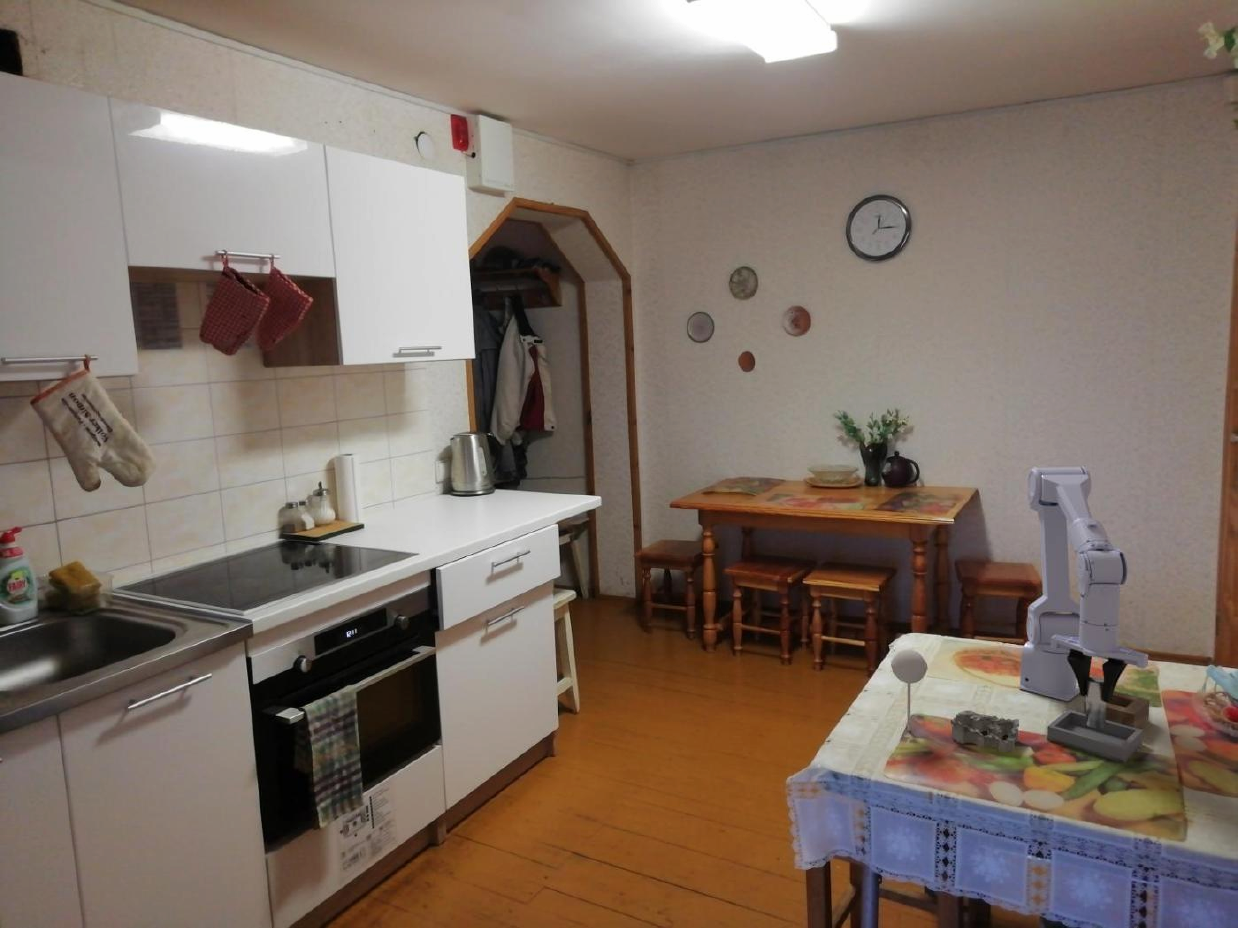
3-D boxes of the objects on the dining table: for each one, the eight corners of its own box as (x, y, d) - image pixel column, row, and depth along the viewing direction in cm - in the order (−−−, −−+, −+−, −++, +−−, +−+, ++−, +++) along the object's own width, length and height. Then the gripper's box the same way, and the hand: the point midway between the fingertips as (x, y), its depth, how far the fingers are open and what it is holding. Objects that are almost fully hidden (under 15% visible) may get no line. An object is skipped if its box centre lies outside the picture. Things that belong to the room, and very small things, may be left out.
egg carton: (947, 742, 149) (946, 720, 149) (958, 725, 156) (958, 703, 155) (1012, 756, 143) (1013, 733, 143) (1021, 738, 149) (1022, 716, 149)
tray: (1046, 739, 148) (1047, 726, 148) (1067, 722, 154) (1068, 709, 154) (1123, 763, 139) (1124, 748, 139) (1142, 743, 145) (1142, 730, 145)
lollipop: (928, 725, 155) (929, 646, 153) (925, 740, 150) (926, 658, 148) (892, 720, 158) (893, 642, 155) (888, 734, 152) (888, 654, 150)
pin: (1082, 724, 146) (1083, 680, 145) (1089, 718, 148) (1090, 675, 147) (1101, 730, 144) (1103, 685, 143) (1108, 723, 146) (1109, 679, 145)
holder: (1083, 722, 154) (1084, 701, 153) (1100, 707, 159) (1101, 687, 158) (1133, 736, 148) (1134, 714, 147) (1148, 720, 153) (1149, 699, 152)
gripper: (1044, 617, 146) (1042, 692, 148) (1139, 636, 135) (1135, 717, 137) (1060, 607, 151) (1058, 680, 153) (1153, 625, 140) (1150, 703, 142)
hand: (1095, 697), depth 145 cm, fingers closed on pin, 3 cm apart
